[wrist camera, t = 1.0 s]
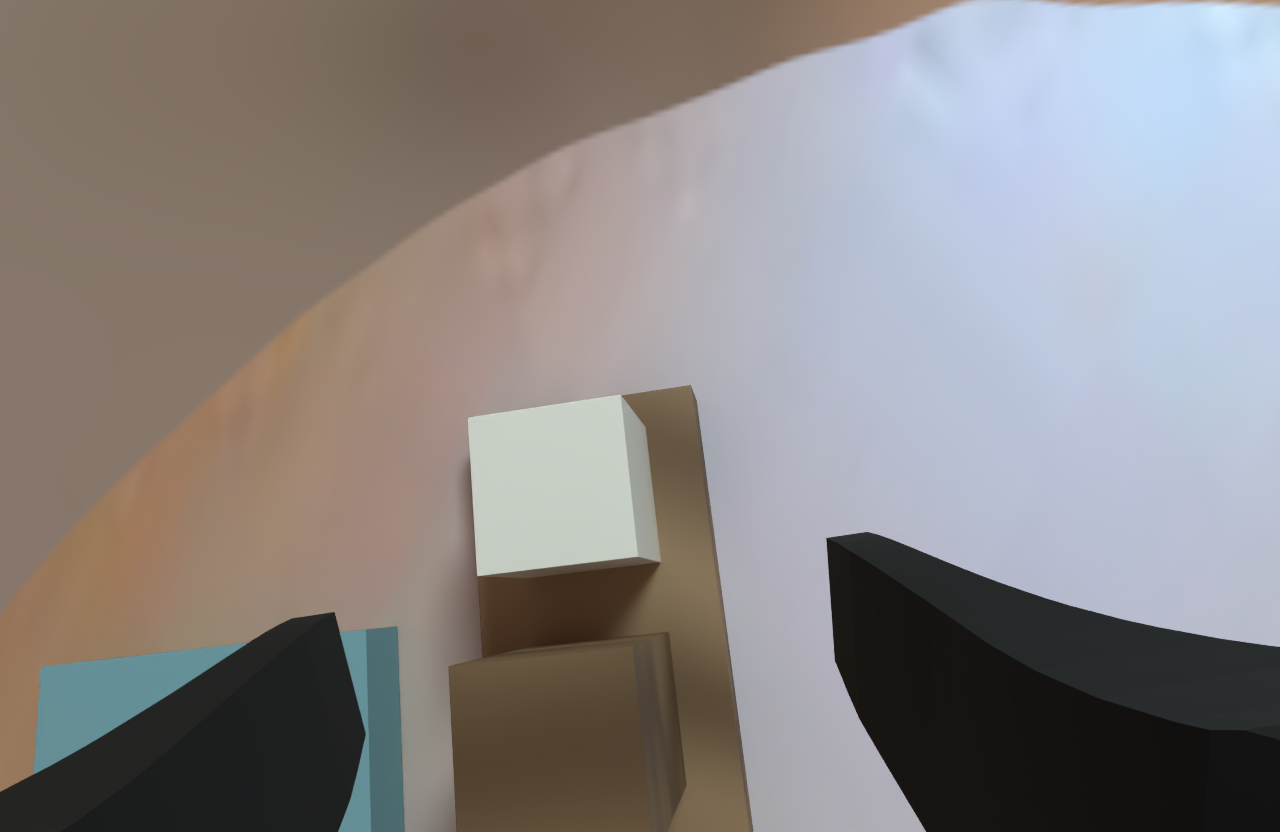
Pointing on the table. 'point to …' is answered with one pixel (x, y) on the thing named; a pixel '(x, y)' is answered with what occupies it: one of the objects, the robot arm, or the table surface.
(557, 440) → the block
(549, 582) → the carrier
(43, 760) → the dock
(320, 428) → the table surface
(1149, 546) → the table surface
